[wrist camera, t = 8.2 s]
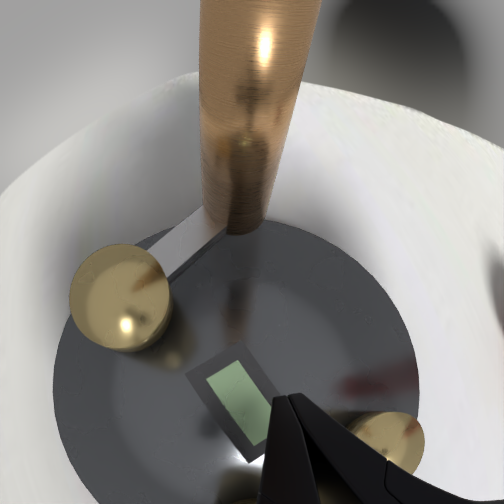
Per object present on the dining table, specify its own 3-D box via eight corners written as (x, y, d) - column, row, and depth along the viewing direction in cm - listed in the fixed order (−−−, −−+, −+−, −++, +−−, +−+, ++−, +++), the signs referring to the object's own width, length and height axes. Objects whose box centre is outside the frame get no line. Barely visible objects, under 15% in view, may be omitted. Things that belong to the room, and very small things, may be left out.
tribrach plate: (452, 412, 14) (483, 410, 11) (197, 590, 7) (195, 615, 5) (282, 182, 20) (291, 151, 17) (20, 324, 14) (-8, 311, 11)
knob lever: (122, 372, 12) (-126, 271, 1) (68, 300, 14) (-99, 130, 2) (287, 218, 17) (365, -1, 6) (226, 170, 18) (244, -35, 7)
